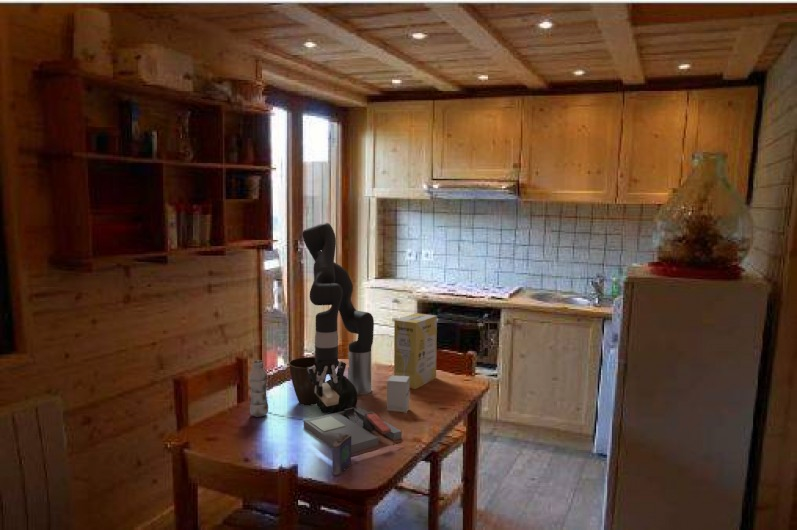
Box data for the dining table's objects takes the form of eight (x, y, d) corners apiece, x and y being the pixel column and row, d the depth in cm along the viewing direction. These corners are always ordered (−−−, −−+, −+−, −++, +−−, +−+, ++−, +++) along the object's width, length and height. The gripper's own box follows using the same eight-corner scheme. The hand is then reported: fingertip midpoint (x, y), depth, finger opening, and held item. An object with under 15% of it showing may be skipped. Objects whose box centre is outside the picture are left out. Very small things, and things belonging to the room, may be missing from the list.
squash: (310, 392, 214) (318, 370, 203) (348, 388, 220) (357, 367, 209) (317, 426, 205) (325, 405, 195) (356, 422, 211) (366, 401, 201)
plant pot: (324, 394, 227) (324, 355, 226) (332, 407, 213) (331, 365, 211) (287, 398, 223) (286, 358, 221) (292, 411, 209) (291, 369, 207)
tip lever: (341, 415, 196) (344, 395, 193) (355, 412, 199) (358, 392, 196) (375, 453, 179) (379, 432, 176) (390, 449, 182) (393, 428, 179)
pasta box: (415, 373, 256) (416, 313, 253) (436, 377, 250) (437, 315, 247) (394, 384, 240) (394, 320, 237) (415, 389, 235) (416, 323, 232)
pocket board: (303, 431, 190) (303, 419, 190) (359, 417, 203) (359, 406, 203) (342, 459, 169) (342, 446, 169) (401, 442, 182) (401, 430, 182)
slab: (314, 392, 188) (315, 384, 187) (325, 390, 191) (326, 382, 190) (326, 406, 182) (327, 398, 181) (338, 403, 184) (339, 395, 183)
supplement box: (406, 415, 205) (406, 382, 204) (386, 414, 206) (386, 380, 205) (409, 408, 212) (410, 376, 211) (390, 407, 214) (390, 374, 212)
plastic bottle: (272, 413, 206) (271, 360, 204) (260, 420, 200) (259, 365, 198) (258, 411, 209) (257, 358, 206) (246, 417, 203) (244, 363, 200)
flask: (338, 477, 159) (338, 440, 158) (329, 475, 160) (329, 438, 159) (353, 463, 167) (352, 428, 166) (344, 461, 168) (344, 427, 167)
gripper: (311, 349, 177) (312, 402, 179) (351, 343, 185) (351, 394, 187) (301, 344, 183) (301, 395, 185) (339, 339, 191) (340, 388, 193)
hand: (326, 394), depth 186 cm, fingers closed on slab, 4 cm apart
